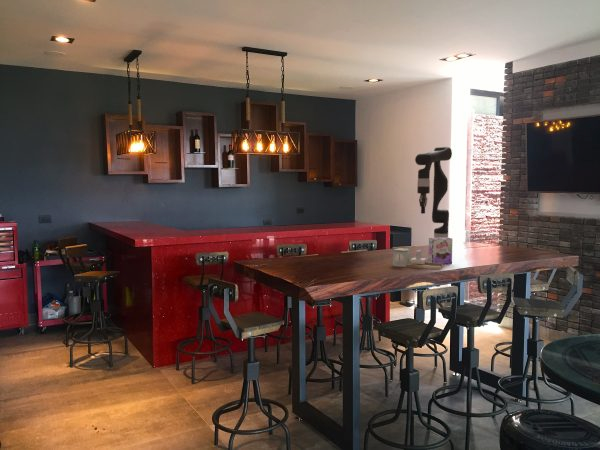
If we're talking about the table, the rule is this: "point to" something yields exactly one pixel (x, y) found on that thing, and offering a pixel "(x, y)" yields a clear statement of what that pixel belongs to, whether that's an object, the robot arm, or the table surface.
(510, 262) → the table surface
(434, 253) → the candy box
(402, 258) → the gauge cabinet
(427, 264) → the rail board
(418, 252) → the carriage
